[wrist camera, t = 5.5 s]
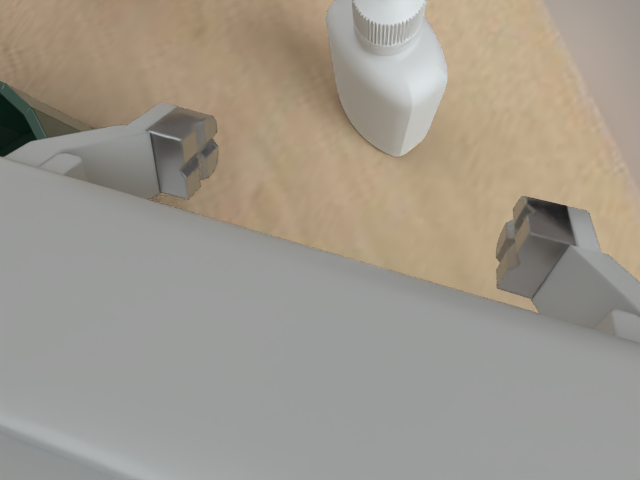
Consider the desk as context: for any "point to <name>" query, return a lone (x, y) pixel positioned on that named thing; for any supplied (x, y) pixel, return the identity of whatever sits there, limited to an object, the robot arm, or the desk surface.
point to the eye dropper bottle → (386, 69)
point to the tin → (30, 120)
